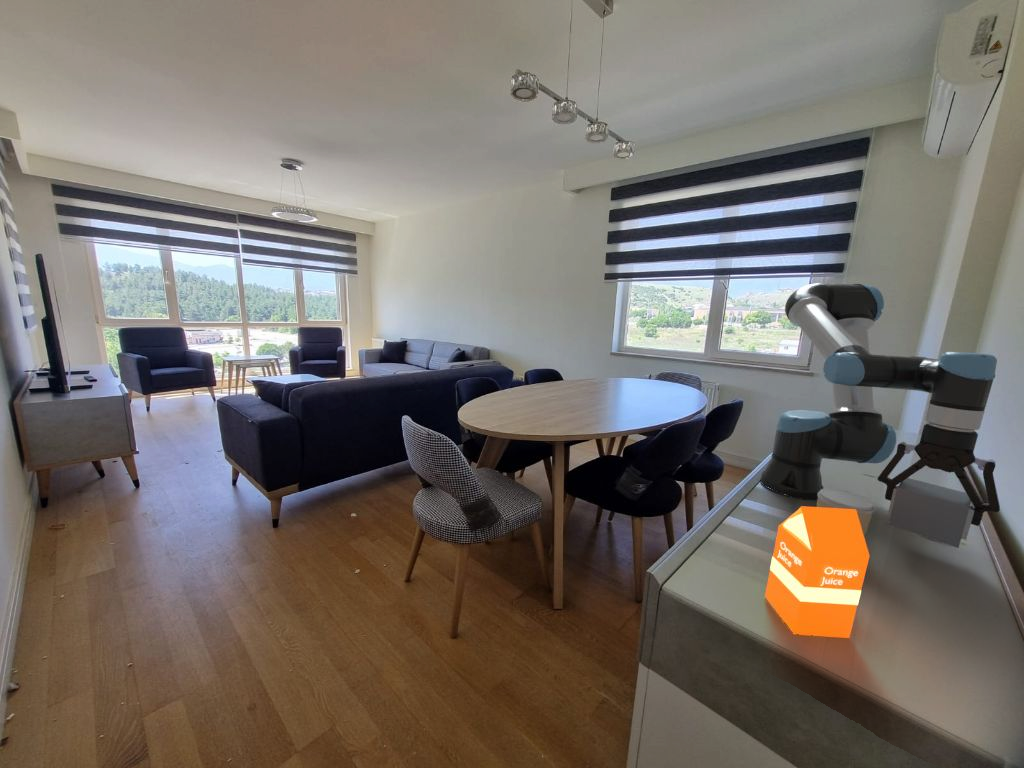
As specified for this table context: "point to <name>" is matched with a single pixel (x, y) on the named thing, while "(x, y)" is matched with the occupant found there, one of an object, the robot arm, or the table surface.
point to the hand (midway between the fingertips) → (925, 525)
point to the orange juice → (818, 571)
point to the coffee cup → (847, 504)
